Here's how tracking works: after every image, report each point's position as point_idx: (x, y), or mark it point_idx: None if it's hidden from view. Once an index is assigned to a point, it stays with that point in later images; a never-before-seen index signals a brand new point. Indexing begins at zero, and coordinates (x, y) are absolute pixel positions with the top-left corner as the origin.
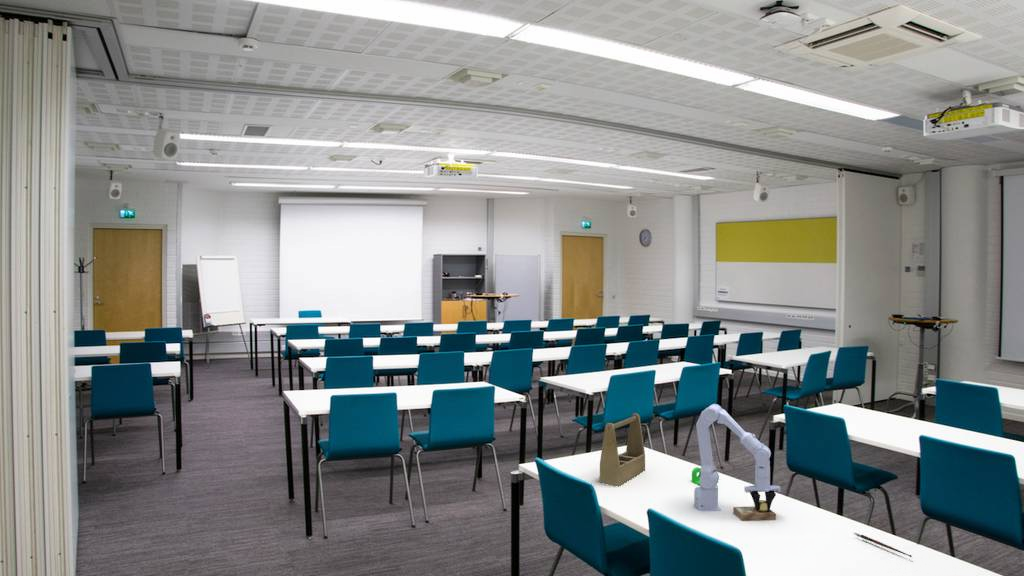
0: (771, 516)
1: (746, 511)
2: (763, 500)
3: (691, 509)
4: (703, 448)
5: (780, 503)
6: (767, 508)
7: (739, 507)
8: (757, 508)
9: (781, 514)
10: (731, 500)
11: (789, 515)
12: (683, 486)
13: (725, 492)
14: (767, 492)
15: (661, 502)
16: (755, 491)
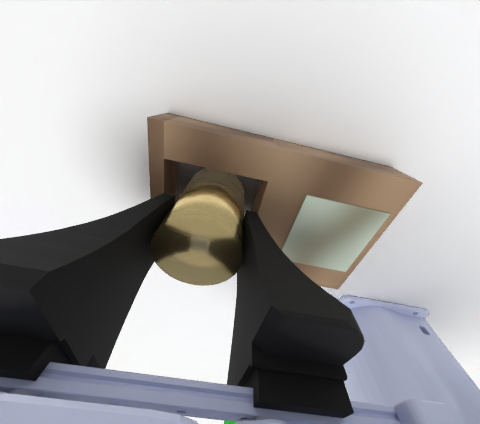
0: (192, 124)
1: (337, 220)
2: (171, 272)
3: (439, 323)
4: None
5: None
6: (179, 198)
7: (313, 277)
8: (258, 217)
9: (91, 185)
10: (231, 337)
11: (44, 157)
12: None
13: (207, 368)
14: (82, 345)
15: None
16: (303, 405)
